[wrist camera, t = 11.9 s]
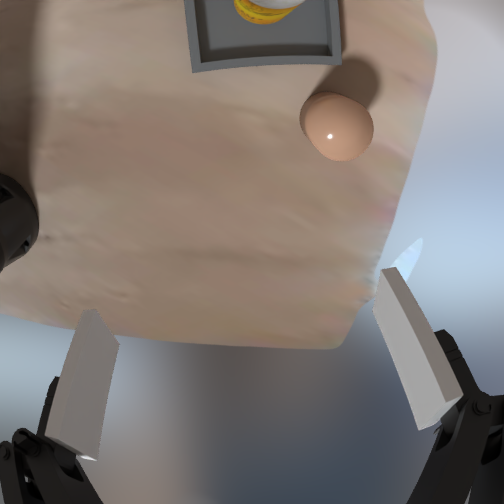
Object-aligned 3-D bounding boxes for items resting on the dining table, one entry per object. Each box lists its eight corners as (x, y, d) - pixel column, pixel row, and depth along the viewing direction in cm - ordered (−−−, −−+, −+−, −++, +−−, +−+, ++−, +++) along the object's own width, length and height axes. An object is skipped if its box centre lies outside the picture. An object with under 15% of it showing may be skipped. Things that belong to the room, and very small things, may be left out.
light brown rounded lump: (300, 146, 35) (311, 162, 30) (298, 91, 31) (310, 98, 26) (353, 144, 35) (371, 160, 30) (354, 92, 31) (374, 99, 26)
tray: (195, 72, 29) (192, 73, 27) (183, -45, 19) (179, -52, 17) (334, 64, 29) (341, 65, 27) (324, -50, 19) (330, -56, 17)
